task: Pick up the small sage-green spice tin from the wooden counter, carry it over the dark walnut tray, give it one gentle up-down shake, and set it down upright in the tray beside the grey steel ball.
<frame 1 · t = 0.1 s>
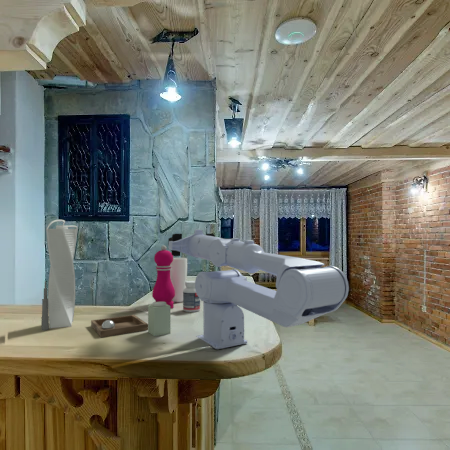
hand: (182, 241, 94), 22 cm above the table, tool horizontal, fingers open, 7 cm apart
steel ball: (108, 333, 82), point 1 cm above the table, touching tray
tray: (119, 330, 86), on the table
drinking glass: (177, 301, 121), on the table
spice tin: (159, 335, 82), on the table
pepper mill: (163, 308, 111), on the table
skyscraper: (60, 329, 89), on the table
pill bottle: (191, 310, 108), on the table
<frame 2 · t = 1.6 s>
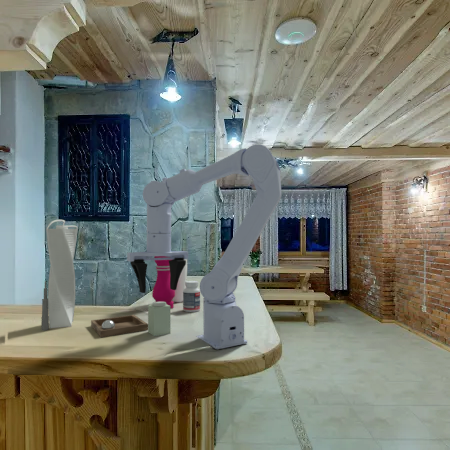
hand: (158, 290, 82), 10 cm above the table, tool pointing down, fingers open, 7 cm apart
nothing on the table moved.
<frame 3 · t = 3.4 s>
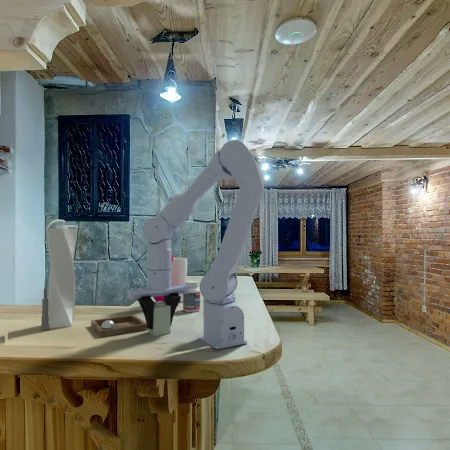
hand: (159, 326, 82), 2 cm above the table, tool pointing down, fingers closed on spice tin, 4 cm apart
spice tin: (159, 335, 82), on the table, touching gripper
everything else where it was.
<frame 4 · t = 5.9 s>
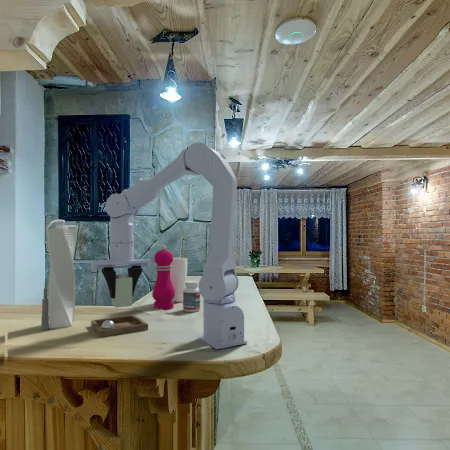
hand: (121, 296, 87), 8 cm above the table, tool pointing down, fingers closed on spice tin, 4 cm apart
spice tin: (121, 305, 87), point 6 cm above the table, touching gripper
everything else where it was.
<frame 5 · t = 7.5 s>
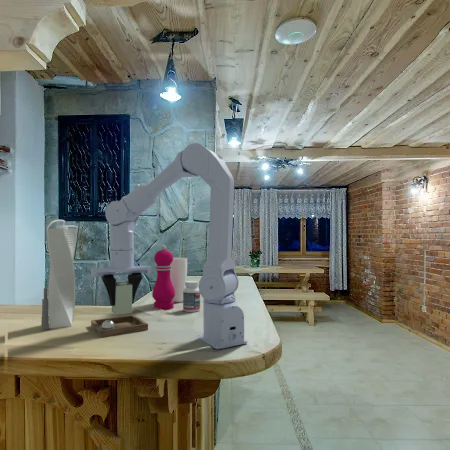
hand: (121, 304, 87), 6 cm above the table, tool pointing down, fingers closed on spice tin, 4 cm apart
spice tin: (121, 312, 87), point 4 cm above the table, touching gripper
everything else where it was.
when the fingers open (3 cm above the table, at t = 8.6 s): spice tin stays where it is, resting on tray.
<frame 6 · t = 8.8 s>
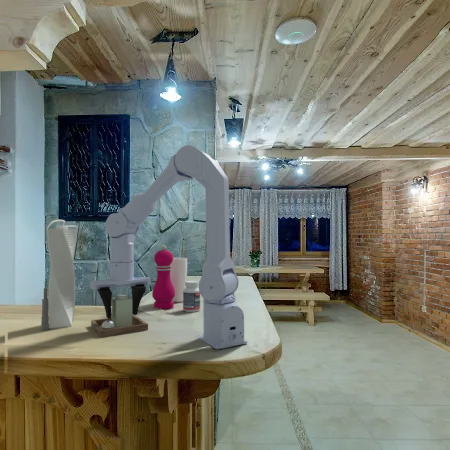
hand: (121, 315, 87), 3 cm above the table, tool pointing down, fingers open, 6 cm apart
spice tin: (122, 326, 87), point 1 cm above the table, touching tray
everything else where it was.
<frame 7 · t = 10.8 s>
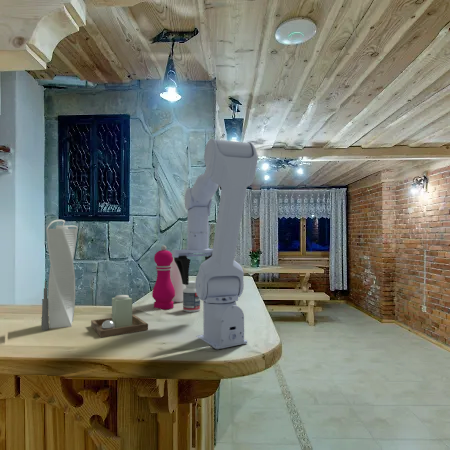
hand: (198, 283, 94), 10 cm above the table, tool pointing down, fingers open, 7 cm apart
nothing on the table moved.
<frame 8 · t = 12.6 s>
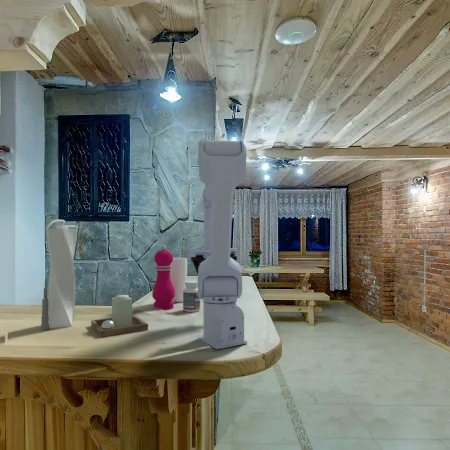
hand: (214, 282, 96), 10 cm above the table, tool pointing down, fingers open, 7 cm apart
nothing on the table moved.
at the end: spice tin inside the target area on the tray (1.4 cm from its centre), point 0.6 cm above the tray's base; spice tin tilted 0°; the gripper is holding nothing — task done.
